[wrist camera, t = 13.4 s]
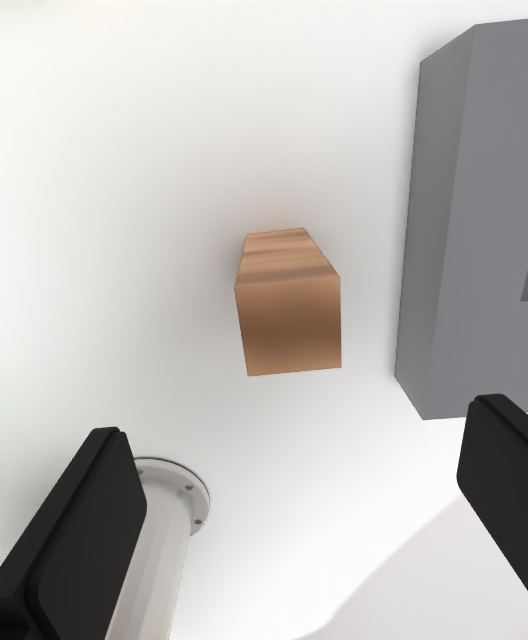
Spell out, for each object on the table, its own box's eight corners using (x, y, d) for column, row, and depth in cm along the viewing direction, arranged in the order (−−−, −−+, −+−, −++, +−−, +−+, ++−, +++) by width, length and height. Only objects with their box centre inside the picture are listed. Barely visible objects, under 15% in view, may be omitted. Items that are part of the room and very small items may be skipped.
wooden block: (307, 282, 27) (341, 367, 15) (254, 288, 28) (247, 376, 16) (303, 227, 26) (339, 276, 14) (247, 234, 26) (234, 288, 14)
